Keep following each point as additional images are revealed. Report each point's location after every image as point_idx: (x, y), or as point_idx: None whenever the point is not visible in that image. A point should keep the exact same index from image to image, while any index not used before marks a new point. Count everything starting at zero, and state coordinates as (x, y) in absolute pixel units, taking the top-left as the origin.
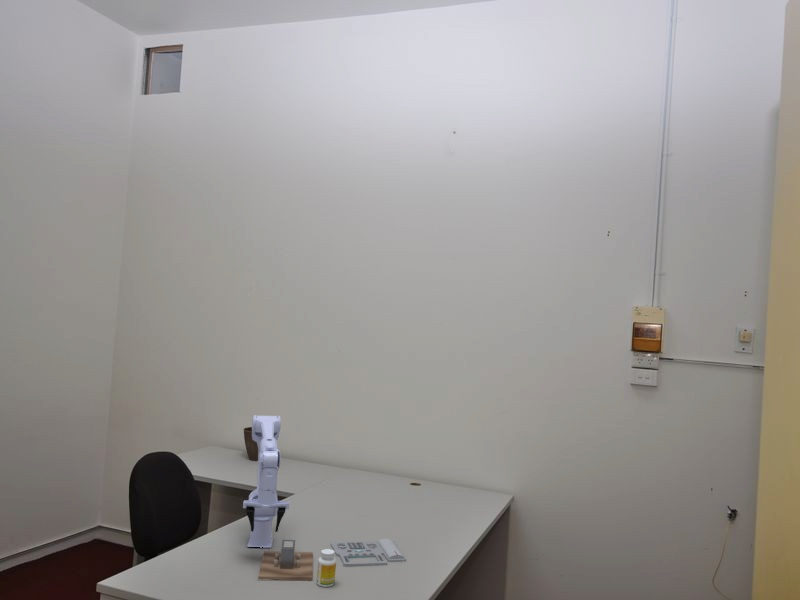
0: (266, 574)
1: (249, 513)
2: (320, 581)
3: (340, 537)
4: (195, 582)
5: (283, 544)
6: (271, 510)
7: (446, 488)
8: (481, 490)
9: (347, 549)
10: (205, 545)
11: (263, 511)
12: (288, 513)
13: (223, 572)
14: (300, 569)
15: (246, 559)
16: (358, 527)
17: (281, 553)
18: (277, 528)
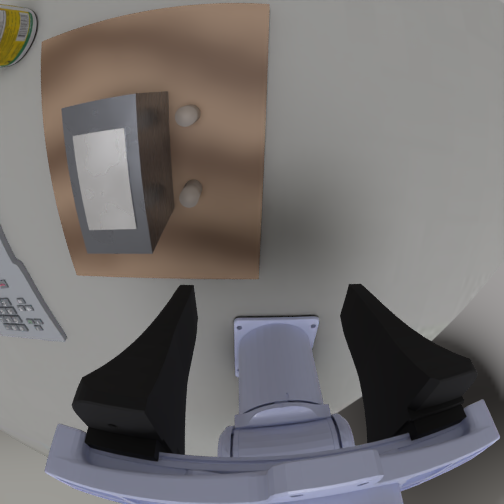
0: (230, 23)
1: (451, 363)
2: (20, 7)
3: (65, 366)
4: (477, 45)
5: (133, 179)
6: (245, 448)
7: (38, 447)
8: (8, 433)
9: (11, 294)
10: (426, 317)
11: (283, 441)
12: (216, 448)
13: (412, 100)
14: (81, 99)
15: (326, 222)
16: (60, 397)
17: (142, 93)
18: (174, 297)
